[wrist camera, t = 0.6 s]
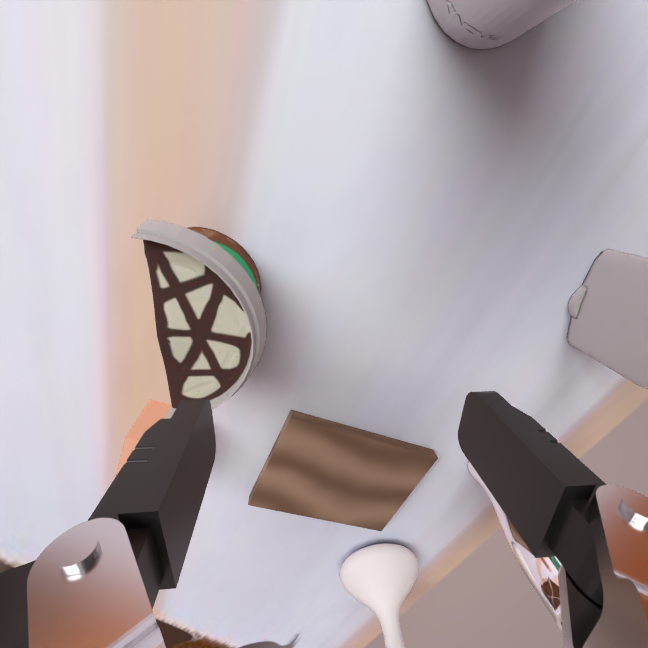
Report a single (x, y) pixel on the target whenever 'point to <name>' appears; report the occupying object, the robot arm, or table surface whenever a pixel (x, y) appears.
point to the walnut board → (339, 473)
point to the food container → (203, 310)
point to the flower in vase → (382, 583)
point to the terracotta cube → (142, 427)
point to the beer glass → (530, 560)
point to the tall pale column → (613, 314)
